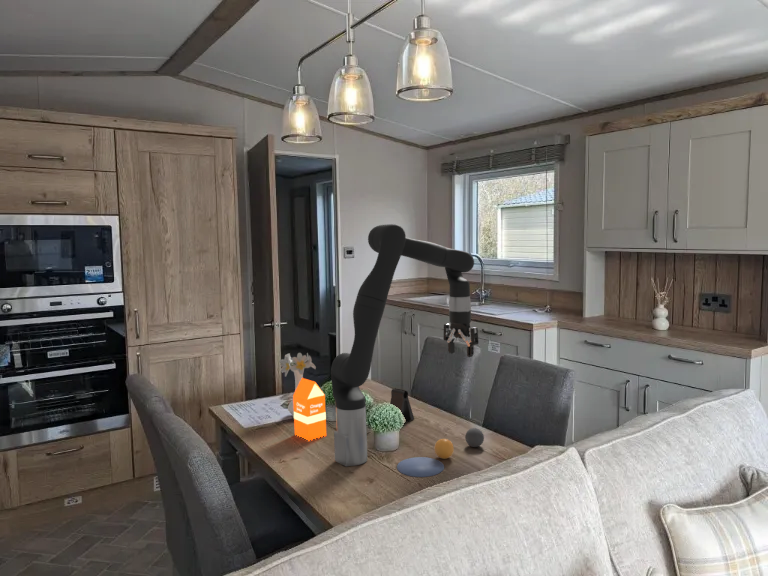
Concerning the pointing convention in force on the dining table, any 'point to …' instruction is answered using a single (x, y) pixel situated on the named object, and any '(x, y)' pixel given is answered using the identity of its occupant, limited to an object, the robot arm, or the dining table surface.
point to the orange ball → (444, 448)
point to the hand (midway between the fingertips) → (460, 354)
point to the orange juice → (309, 410)
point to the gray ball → (474, 437)
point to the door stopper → (402, 403)
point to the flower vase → (295, 370)
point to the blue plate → (420, 467)
